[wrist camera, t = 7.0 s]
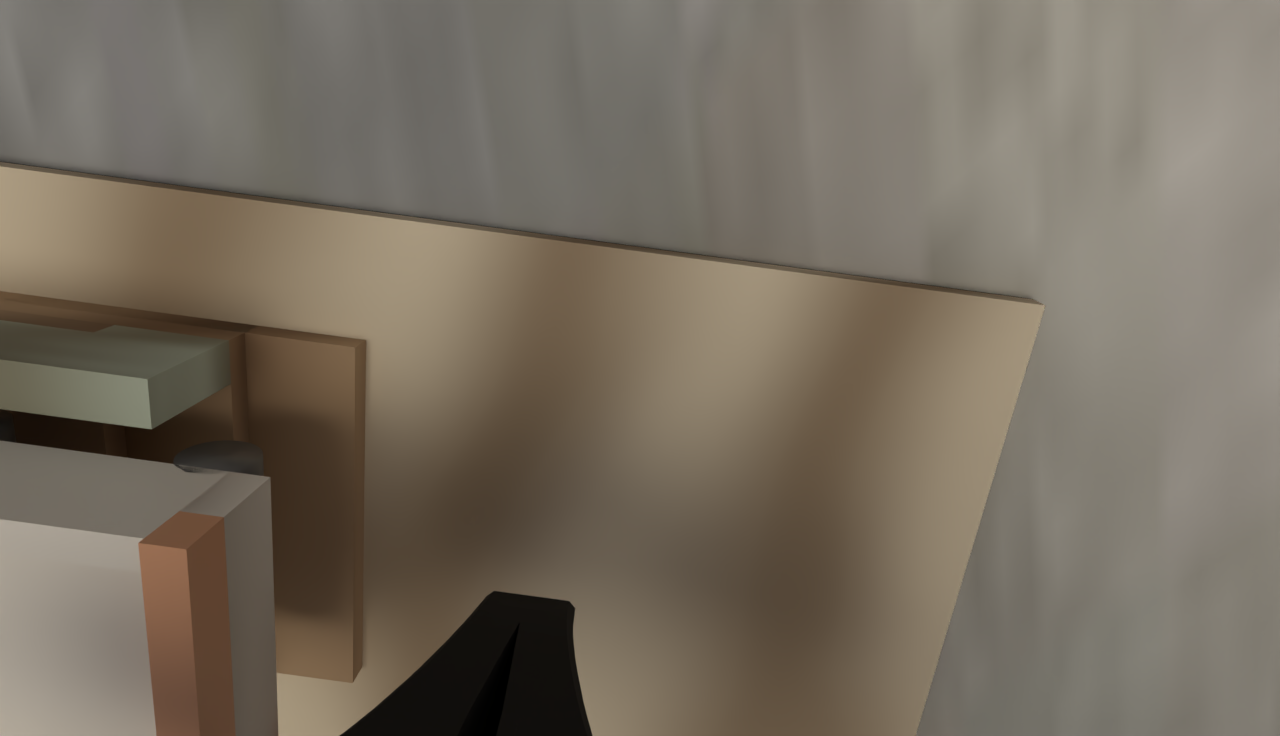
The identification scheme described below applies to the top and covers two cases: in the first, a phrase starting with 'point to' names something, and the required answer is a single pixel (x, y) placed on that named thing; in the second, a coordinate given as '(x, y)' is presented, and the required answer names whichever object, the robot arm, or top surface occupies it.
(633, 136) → the top surface
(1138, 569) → the top surface
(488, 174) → the top surface
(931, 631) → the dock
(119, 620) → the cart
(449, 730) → the robot arm
